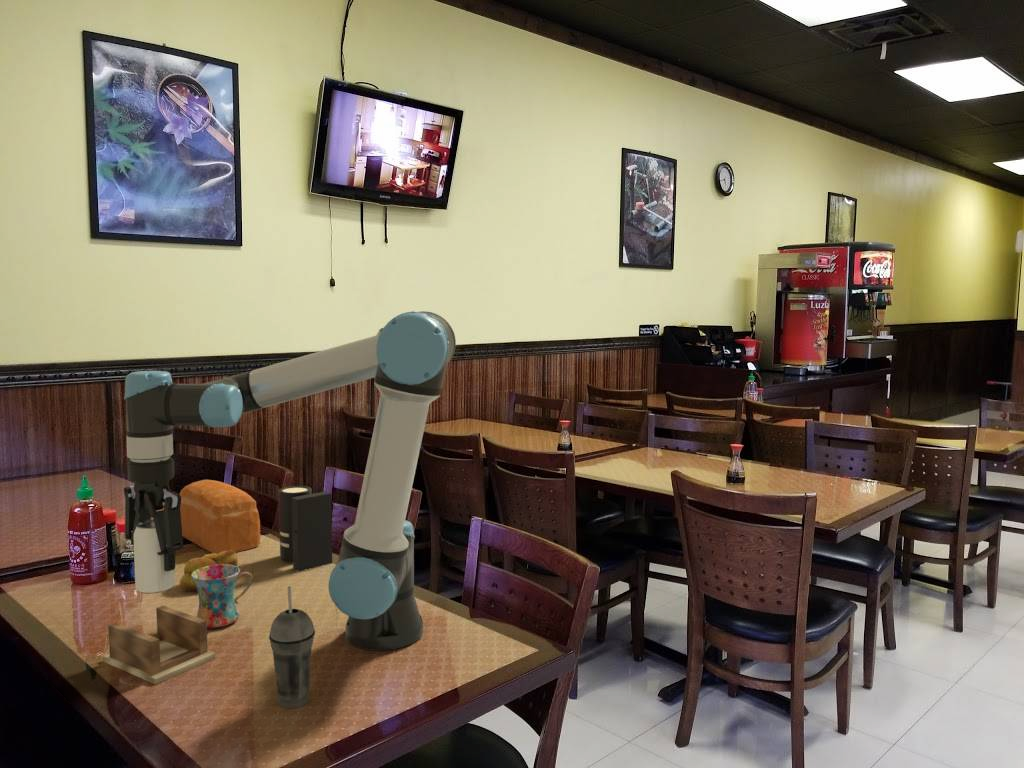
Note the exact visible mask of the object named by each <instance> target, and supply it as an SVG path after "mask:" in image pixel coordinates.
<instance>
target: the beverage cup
mask: <svg viewBox="0 0 1024 768" xmlns="http://www.w3.org/2000/svg"><path fill="white" fill-rule="evenodd" d="M291 587H292V586H290V585H288V586H287V599H288V600H287V602H288V609H285V610H283V611H281V612H280V613H279V614H278V615H277V616H276V617H275V618H274V619H273V621H272V623H271V626H270V630H269V636H268V639H269V643H270V647H271V650H272V656H273V665H274V673H275V682H276V690H277V692H276V693H277V696H278V701H279V702H278V703H279V706H280V707H282V708H284V709H297V708H300V707H302V706H304V705H306V704H307V702H308V700H309V697H308V696H309V690H310V677H311V676H310V674H311V661H312V648H313V644H314V638H315V635H316V631H315V627H314V622H313V621H312V618H311V617H310V616H309V614H308V613H307V612H305V611H303V610H302V609H299V608H293V602H292V588H291Z"/></svg>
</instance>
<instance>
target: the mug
mask: <svg viewBox="0 0 1024 768" xmlns="http://www.w3.org/2000/svg"><path fill="white" fill-rule="evenodd" d="M243 575H248V576H249V582H248V584H247V586H246V587H245V588H244V590H243V591H242V592H241V593H240V594H239V595H237V596H236V597H235V588H236V585H237V582H238V580H239V579H240V577H241V576H243ZM191 577H192V579H193V581H194V583H195V585H196V588H197V590H196V591H197V595H198V610H197V615H196V616H195V617H197V618H200V619H203V620H206V621H207V628H210V629H211V628H214V629H215V628H222V627H225V626H229V625H230V624H233V623H234V622H236V621H237V620H238V619H239V618H240V612H239V611H238V609H237V607H236V605H238V604H239V601H237V600H238V599H240V598H242V596H244V595H245V594H246V592H247V591H248V590H249V588H250V587H251V585H252V583H253V575H252V574H251V573H250V572H249V571H243V572H241V569H240V568H239V566H238V565H237V566H234V565H227V564H220V565H211V566H206V567H202V568H199V569H197V570H195V571H194V572H193V573H192V574H191Z"/></svg>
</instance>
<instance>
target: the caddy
mask: <svg viewBox="0 0 1024 768" xmlns="http://www.w3.org/2000/svg"><path fill="white" fill-rule="evenodd" d="M155 612H156V629H157V630H156V631H157V633H154V634H152V635H149V634H147V633H145V632H142V631H140V630H136V629H135V628H132V627H129V626H127V625H124V624H121V623H119V622H113V623H110V624H108V626H107V629H108V630H107V631H108V647H109V648H108V650H109V652H108V653H107V654H103V655H102V662H104V663H106V664H107V665H110V666H112V667H115V668H116V669H117V668H118V669H119V670H122V671H124V672H127V673H129V674H131V675H133V676H135V677H138V678H139V679H142V680H144V681H146V682H149V683H151V684H153V685H158V684H161V683H163V682H165V681H166V680H169V679H171V678H174V677H176V676H179V675H180V674H183V673H185V672H187V671H189V670H192V669H194V668H196V667H199V666H202V665H203V664H205V663H208V662H210V661H212V660H214V659H216V652H213V651H211V650H209V649H208V627H207V621H206V620H203V619H200V618H197V617H196V616H195V615H191V614H188V613H185V612H183V611H180V610H177V609H174V608H172V607H168V606H165V605H160V606H158V607H156V611H155Z"/></svg>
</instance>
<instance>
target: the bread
mask: <svg viewBox="0 0 1024 768" xmlns="http://www.w3.org/2000/svg"><path fill="white" fill-rule="evenodd" d="M179 495H180V496H181V505H180V512H181V524H182V536H183V538H185V539H186V540H189V542H191V543H194V544H195V545H196V546H198V547H200V548H202V549H204V550H205V551H207V552H209V553H210V554H213V553H216V554H219V553H221V552H223V551H227V550H234V551H235V553H239V552H242V551H247V550H250V549H253V548H256V547H258V546H259V545H260V544H261V520H260V514H259V510H258V508H257V501H256V500H255V499H254V498H253V497H252V496H251V495H249V493H247V492H246V491H243V490H242V489H240V488H238V487H235V486H234V485H231V484H228V483H225V482H222V481H218V480H214V479H213V480H212V479H202V480H198V481H194V482H191V483H190V484H188V485H185V486H184V487H183V488H182V489H180V492H179Z"/></svg>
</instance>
